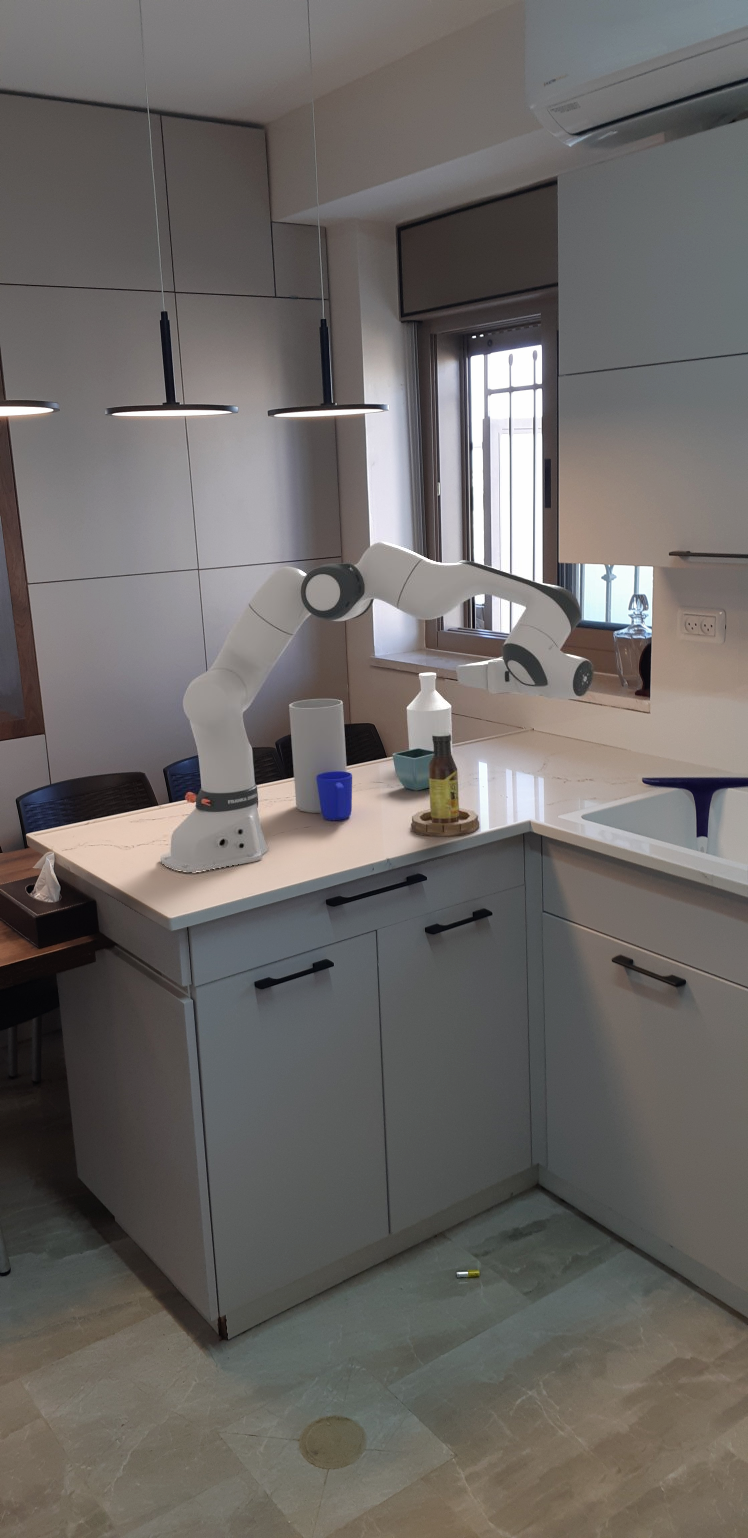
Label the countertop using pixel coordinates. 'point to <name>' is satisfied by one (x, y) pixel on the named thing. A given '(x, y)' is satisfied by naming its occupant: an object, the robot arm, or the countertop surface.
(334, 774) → the mug
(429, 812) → the tray
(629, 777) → the countertop surface
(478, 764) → the countertop surface
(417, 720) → the bottle
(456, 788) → the sauce bottle
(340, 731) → the cylinder vase
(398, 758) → the flower pot
